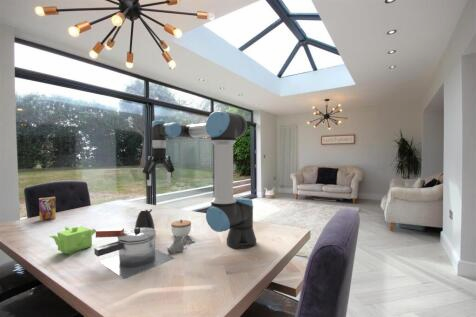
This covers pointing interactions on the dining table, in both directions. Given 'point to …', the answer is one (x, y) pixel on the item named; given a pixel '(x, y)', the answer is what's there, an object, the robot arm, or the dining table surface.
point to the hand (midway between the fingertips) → (159, 184)
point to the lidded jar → (181, 228)
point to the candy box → (47, 208)
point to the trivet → (127, 272)
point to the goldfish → (180, 244)
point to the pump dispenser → (145, 220)
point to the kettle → (74, 239)
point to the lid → (127, 234)
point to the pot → (130, 252)
